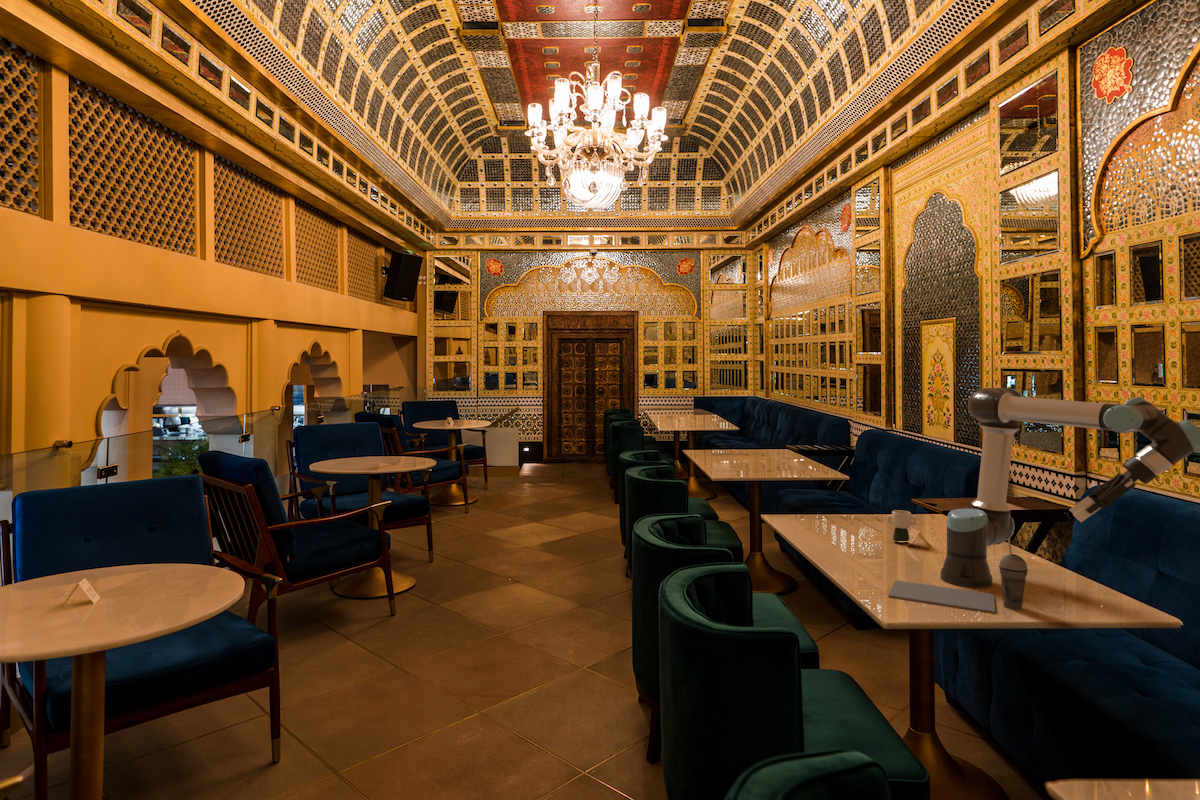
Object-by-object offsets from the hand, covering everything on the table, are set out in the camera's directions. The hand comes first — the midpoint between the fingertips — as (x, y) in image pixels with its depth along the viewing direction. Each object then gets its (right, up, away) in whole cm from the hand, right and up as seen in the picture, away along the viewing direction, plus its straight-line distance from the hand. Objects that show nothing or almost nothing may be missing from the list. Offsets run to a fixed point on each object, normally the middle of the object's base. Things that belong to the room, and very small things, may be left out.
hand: (1074, 515), depth 190 cm
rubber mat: (-35, -26, +8) cm, 45 cm away
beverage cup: (-19, -27, -1) cm, 33 cm away
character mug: (-16, -25, +77) cm, 82 cm away
